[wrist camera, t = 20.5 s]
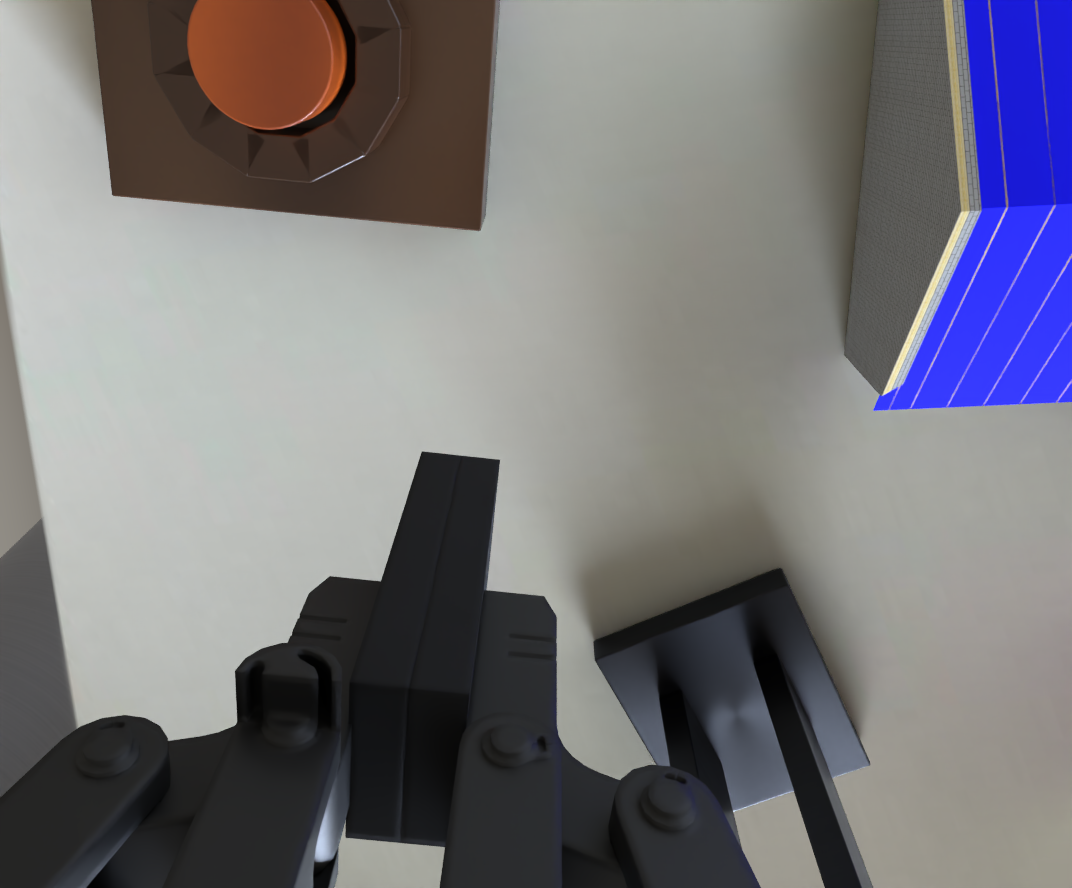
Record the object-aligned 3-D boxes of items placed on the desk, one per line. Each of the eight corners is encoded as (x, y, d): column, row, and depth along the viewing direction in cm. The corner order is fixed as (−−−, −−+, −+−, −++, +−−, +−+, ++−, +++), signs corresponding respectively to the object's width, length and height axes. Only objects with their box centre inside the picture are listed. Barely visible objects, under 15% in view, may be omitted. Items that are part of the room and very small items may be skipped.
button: (215, 116, 24) (191, 122, 22) (206, -34, 22) (179, -39, 21) (348, 129, 24) (333, 136, 23) (348, -19, 23) (333, -23, 21)
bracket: (861, 744, 38) (1033, 1137, 24) (688, 804, 39) (759, 1203, 26) (781, 566, 34) (931, 914, 21) (592, 640, 36) (618, 1008, 22)
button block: (142, 184, 28) (82, 207, 25) (111, -150, 25) (35, -181, 21) (485, 217, 29) (476, 244, 25) (507, -108, 25) (500, -130, 21)
